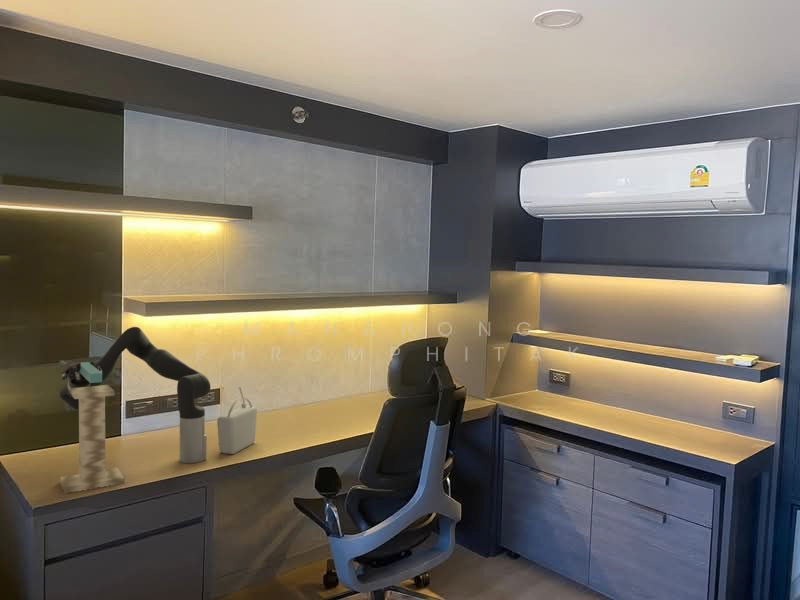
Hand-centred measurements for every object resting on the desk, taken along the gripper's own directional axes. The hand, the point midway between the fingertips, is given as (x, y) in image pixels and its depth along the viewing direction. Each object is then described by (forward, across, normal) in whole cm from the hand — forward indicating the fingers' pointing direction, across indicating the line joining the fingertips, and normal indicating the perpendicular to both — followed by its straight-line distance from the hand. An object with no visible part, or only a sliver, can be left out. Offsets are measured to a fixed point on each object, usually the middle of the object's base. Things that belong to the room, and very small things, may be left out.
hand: (86, 365), depth 214 cm
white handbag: (-21, +56, +34) cm, 69 cm away
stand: (-10, 0, +40) cm, 41 cm away
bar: (+5, 0, +6) cm, 8 cm away
